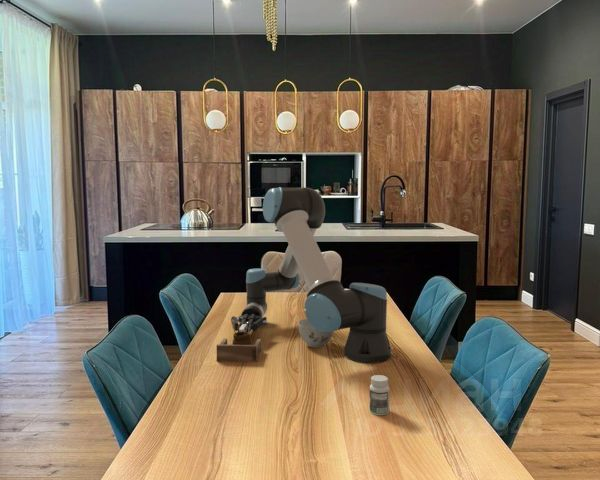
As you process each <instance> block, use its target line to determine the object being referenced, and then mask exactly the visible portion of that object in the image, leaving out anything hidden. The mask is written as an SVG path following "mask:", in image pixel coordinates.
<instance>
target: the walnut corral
mask: <svg viewBox="0 0 600 480" xmlns="http://www.w3.org/2000/svg"><path fill="white" fill-rule="evenodd" d="M261 351H262V339H261V338H257V339H256V341H255V343H254V344H251V345H232V344H228V338H223V339H222V340H221V342H220V343H218V344H216V362H242V363H244V362H245V363H248V362H249V363H257V361H258V358H259V356H260V355H261Z"/></svg>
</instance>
